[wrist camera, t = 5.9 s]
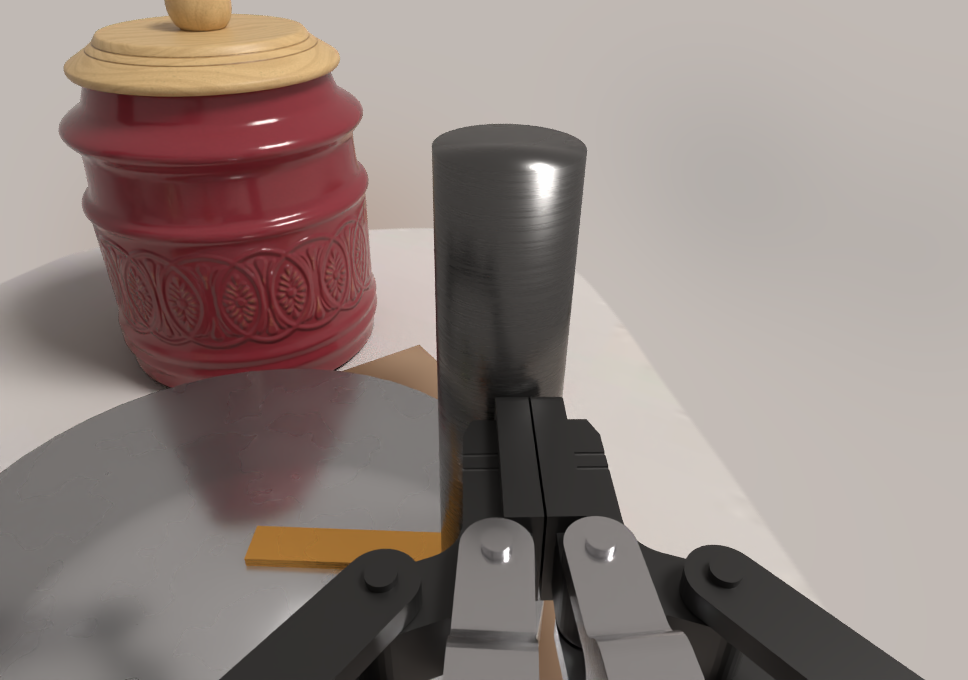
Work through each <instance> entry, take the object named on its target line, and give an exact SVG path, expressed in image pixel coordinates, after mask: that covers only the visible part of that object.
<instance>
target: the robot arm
mask: <svg viewBox="0 0 968 680" xmlns="http://www.w3.org/2000/svg"><path fill="white" fill-rule="evenodd" d="M538 590H539V593H540V601H545V600H553V602H554V610H555V626H554V640H555V645H556V650H557V654H558V659H559V664H560V669H561V673H562V678H563V680H924V679H923V678H921V677H920V676H918V675H917V674H916V673H914V672H913V671H911V670H909V669H908V668H907V667H906V666H904V665H903V664H901V663H900V662H898V661H897V660H895V659H894V658H892V657H891V656H890V655H888V654H887V653H885V652H884V651H883V650H881V649H880V648H878V647H877V646H875V645H874V644H872V643H871V642H870V641H868V640H867V639H865V638H864V637H862V636H861V635H860V634H858V633H857V632H855V631H854V630H852V629H851V628H850V627H848V626H847V625H845V624H843V623H842V622H841V621H839V620H838V619H837V618H835V617H834V616H832V615H831V614H829V613H828V612H827V611H825V610H824V609H822V608H821V607H819V606H818V605H816V604H815V603H814V602H812V601H811V600H809V599H808V598H806V597H805V596H804V595H802V594H801V593H799V592H798V591H796V590H795V589H794V588H792V587H791V586H789V585H788V584H786V583H785V582H783V581H782V580H781V579H779V578H778V577H776V576H775V575H773V574H772V573H771V572H769V571H768V570H766V569H765V568H763V567H762V566H760V565H759V564H758V563H756V562H755V561H753V560H752V559H750V558H749V557H748V556H746V555H744V554H743V553H741V552H739V551H737V550H735V549H732V548H729V547H726V546H721V545H706V546H701V547H699V548H696V549H695V550H693V551H692V552H691V553H690V554H689V555H688V557H687V558H686V559H684V558H681V557H677V556H673V555H669V554H665V553H661V552H658V551H655V550H652V549H650V548H648V547H646V546H644V545H643V544H641V543H640V542H638V541H637V540H636V537H635V536H634V534H633V533H632V532H631V531H630V530H629V529H628V528H627V527H626V526H625V525H624V523H623V520H622V517H621V513H620V509H619V505H618V501H617V498H616V494H615V490H614V486H613V482H612V479H611V475H610V471H609V470H608V463H607V460H606V456H605V455H604V448H603V445H602V441H601V437H600V434H599V433H598V432H597V431H596V430H595V428H594V427H593V426H592V425H591V424H590V423H589V422H588V421H587V419H567V416H566V411H565V406H564V401H563V398H562V397H529V400H528V397H495V414H494V420H477V421H472V422H471V423H470V425H469V426H468V428H467V430H466V431H465V433H464V435H463V526H462V530H461V533H460V535H459V537H458V539H457V540H456V541H455V543H454V544H452V545H451V546H450V547H449V548H448V549H446V550H445V551H443V552H441V553H440V554H437V555H435V556H432V557H429V558H426V559H422V560H419V561H416V562H415V560H414V559H413V558H412V557H410V556H409V555H408V554H406V553H404V552H401V551H398V550H394V549H377V550H373V551H369V552H367V553H364V554H362V555H361V556H359V557H357V558H356V559H355V560H353V561H352V562H351V563H350V564H349V565H348V566H347V567H346V568H344V569H343V570H342V571H341V572H340V573H339V574H338V575H336V576H335V577H334V578H333V579H332V580H331V581H330V582H329V583H327V584H326V585H325V586H324V587H323V588H322V589H321V590H320V591H318V592H317V593H316V594H315V595H314V596H313V597H312V598H311V599H309V600H308V601H307V602H306V603H305V604H304V605H303V606H302V607H300V608H299V609H298V610H297V611H296V612H295V613H294V614H292V615H291V616H290V617H289V618H288V619H287V620H286V621H285V622H283V623H282V624H281V625H280V626H279V627H278V628H277V629H276V630H274V631H273V632H272V633H271V634H270V635H269V636H268V637H267V638H265V639H264V640H263V641H262V642H261V643H260V644H259V645H258V646H256V647H255V648H254V649H253V650H252V651H251V652H250V653H248V654H247V655H246V656H245V657H244V658H243V659H242V660H241V661H239V662H238V663H237V664H236V665H235V666H234V667H233V668H232V669H230V670H229V671H228V672H227V673H226V674H225V675H224V676H223V677H221V678H220V679H219V680H430V679H433V678H436V677H439V676H442V675H443V680H539V649H538V639H536V610H535V601H538Z"/></svg>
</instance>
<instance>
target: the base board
mask: <svg viewBox="0 0 968 680" xmlns="http://www.w3.org/2000/svg"><path fill="white" fill-rule="evenodd" d="M343 372H349V373H356V374H362V375H368V376H372V377H376V378H380V379H384V380H388V381H392V382H396V383H398V384H401V385H404V386H407V387H410V388H413V389H416V390H418V391H421V392H423V393H425V394H427V395H429V396H431V397H433V398H436V399H438V385H437V361H436V360H435V359H434V358H433V357H432V356H431V355H430V354H429V353H428V352H427V351H425V350H424V349H423V348H422V347H421V346H420V345H417V346H414V347H411V348H409V349H406V350H403V351H400V352H397V353H394V354H391V355H388V356H385V357H382V358H379V359H376V360H374V361H371V362H368V363H365V364H362V365H359V366H356V367H353V368H350V369H347V370H344V371H343ZM554 626H555V610H554V602H553V600H545V601H544V605H543V615H542V624H541V634H540V641H539V647H538V649H539V680H563V678H562V673H561V669H560V664H559V659H558V654H557V650H556V645H555V640H554Z"/></svg>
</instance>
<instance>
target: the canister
mask: <svg viewBox="0 0 968 680" xmlns="http://www.w3.org/2000/svg"><path fill="white" fill-rule="evenodd" d="M165 5H166V9H167V12H168V14H169V16H164V17H153V18H145V19H138V20H132V21H126V22H121V23H117V24H113V25H109V26H107V27H103V28H101V29H99V30H98V31H96V32H95V34H94V36H93V38H92V40H91V42H90V43H89V44H88V45H87V46H86V47H85V48H83V49H82V50H80V51H79V52H78V53H77V54H75V55H74V56H72V57H71V58H70V59H69V60H68V61H67V62H66V63H65V65H64V72H65V75H66V76H67V77H68V79H70V80H71V81H72V82H73V83H75V84H77V85H79V86H82V91H81V99H80V102H79V103H78V104H77V105H76V106H74V107H73V108H72V109H71V110H70V111H69V112H68V113H67V114H66V115H65V116H64V117H63V118H62V120H61V122H60V124H59V135H60V137H61V139H62V140H63V141H64V142H65V143H66V144H67V145H68V146H69V147H70V148H72V149H73V150H74V151H76V152H78V153H79V154H81V155H82V158H83V163H84V167H85V171H86V175H87V181H88V187H87V189H86V190H85V192H84V194H83V198H82V208H83V211H84V213H85V215H86V217H87V218H88V219H89V220H90V221H91V222H92V224H93V226H94V230H95V233H96V236H97V239H98V243H99V246H100V249H101V252H102V255H103V259H104V262H105V265H106V268H107V272H108V275H109V278H110V281H111V284H112V288H113V291H114V294H115V297H116V300H117V304H118V307H119V312H118V318H119V324H120V327H121V329H122V331H123V336H124V339H125V342H126V344H127V346H128V347H129V349H130V350H131V352H132V353H133V354H134V355H135V356H136V358H137V361H138V363H139V365H140V366H141V368H142V369H143V370H144V371H145V373H146V374H148V375H149V376H150V377H151V378H153V379H154V380H156V381H157V382H159V383H161V384H163V385H165V386H168V387H170V388H172V387H175V386H178V385H182V384H185V383H189V382H194V381H198V380H203V379H208V378H212V377H217V376H222V375H229V374H236V373H242V372H249V371H261V370H274V369H320V370H335V369H336V368H338V367H340V366H341V365H343V364H344V363H346V362H347V361H348V360H350V359H351V358H352V357H353V356H354V355H355V354H357V353H358V352H359V351H360V349H361V348H362V347H363V346H364V345H365V343H366V342H367V340H368V339H369V337H370V335H371V332H372V329H373V324H374V314H375V311H376V306H377V296H376V281H375V278H374V275H373V273H372V271H371V259H370V246H369V233H368V221H367V208H366V196H365V192H366V189H367V187H368V175H367V172H366V170H365V168H364V167H363V165H362V164H361V163H360V162H359V161H357V159H356V154H355V148H354V141H353V131H354V129H355V128H356V127H357V125H358V124H359V122H360V121H361V119H362V116H363V109H362V106H361V104H360V102H359V101H358V100H357V99H356V98H355V97H354V96H353V95H352V94H350V93H349V92H347V91H346V90H344V89H342V88H341V87H339V86H337V85H336V83H335V81H334V79H333V77H332V74H331V71H333V70H334V69H335V68H336V67H337V66H338V64H339V61H340V56H339V53H338V51H337V50H336V49H335V48H333V47H332V46H330V45H329V44H327V43H325V42H323V41H322V40H320V39H318V38H316V37H314V36H313V35H312V34H310V33H309V32H308V31H307V30H306V28H305V27H304V26H303V25H302V24H300V23H298V22H296V21H293V20H289V19H285V18H279V17H271V16H263V15H248V14H231V10H232V7H231V0H165Z"/></svg>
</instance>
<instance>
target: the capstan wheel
mask: <svg viewBox="0 0 968 680" xmlns="http://www.w3.org/2000/svg"><path fill="white" fill-rule="evenodd" d="M586 155H587V148H586V146H585V144H584V143H583V142H582V141H580V140H579V139H577V138H576V137H574V136H572V135H569V134H567V133H564V132H561V131H557V130H553V129H548V128H543V127H538V126H530V125H518V124H487V125H476V126H469V127H464V128H459V129H456V130H452V131H449V132H446V133H444V134H442V135H440V136H439V137H437V138H436V139H435V140H434V141H433V143H432V165H433V166H432V167H433V209H434V210H433V211H434V255H435V299H436V342H437V385H438V399H436V398H433V397H431V396H429V395H427V394H425V393H423V392H421V391H418V390H416V389H413V388H410V387H407V386H404V385H401V384H398V383H396V382H392V381H388V380H384V379H380V378H376V377H372V376H368V375H362V374H356V373H349V372H343V371H334V370H320V369H274V370H261V371H249V372H242V373H236V374H229V375H222V376H217V377H212V378H208V379H203V380H198V381H194V382H189V383H185V384H182V385H178V386H175V387H172V388H168V389H165V390H161V391H158V392H154V393H152V394H149V395H146V396H143V397H141V398H138V399H135V400H132V401H130V402H127V403H124V404H121V405H119V406H117V407H115V408H112V409H110V410H108V411H106V412H103V413H101V414H99V415H97V416H94V417H92V418H90V419H88V420H86V421H84V422H82V423H80V424H78V425H76V426H74V427H73V428H71V429H69V430H67V431H65V432H63V433H61V434H59V435H57V436H55V437H54V438H52V439H51V440H49V441H47V442H46V443H44V444H43V445H41V446H39V447H38V448H36V449H34V450H33V451H31V452H30V453H28V454H26V455H25V456H23V457H22V458H20V459H19V460H18V461H16V462H15V463H13V464H12V465H11V466H9V467H8V468H7V469H5V470H4V471H2V472H1V473H0V680H219V679H220V678H221V677H223V676H224V675H225V674H226V673H227V672H228V671H229V670H230V669H232V668H233V667H234V666H235V665H236V664H237V663H238V662H239V661H241V660H242V659H243V658H244V657H245V656H246V655H247V654H248V653H250V652H251V651H252V650H253V649H254V648H255V647H256V646H258V645H259V644H260V643H261V642H262V641H263V640H264V639H265V638H267V637H268V636H269V635H270V634H271V633H272V632H273V631H274V630H276V629H277V628H278V627H279V626H280V625H281V624H282V623H283V622H285V621H286V620H287V619H288V618H289V617H290V616H291V615H292V614H294V613H295V612H296V611H297V610H298V609H299V608H300V607H302V606H303V605H304V604H305V603H306V602H307V601H308V600H309V599H311V598H312V597H313V596H314V595H315V594H316V593H317V592H318V591H320V590H321V589H322V588H323V587H324V586H325V585H326V584H327V583H329V582H330V581H331V580H332V579H333V578H334V577H335V576H336V575H338V574H339V573H340V572H341V571H342V570H343V569H344V568H346V567H347V566H348V565H349V564H350V563H351V562H352V561H353V560H355V559H356V558H357V557H359V556H361V555H362V554H364V553H367V552H369V551H373V550H377V549H394V550H398V551H401V552H404V553H406V554H408V555H409V556H410V557H412V558H413V559H414V560H415V562H416V561H419V560H422V559H426V558H429V557H432V556H435V555H437V554H440V553H441V552H443V551H445V550H446V549H448V548H449V547H450V546H451V545H452V544H454V543H455V541H456V540H457V539H458V537H459V535H460V533H461V530H462V526H463V435H464V433H465V431H466V430H467V428H468V426H469V425H470V423H471V422H472V421H477V420H494V414H495V397H528V400H529V397H562V395H563V385H564V375H565V365H566V355H567V345H568V335H569V325H570V315H571V305H572V295H573V285H574V275H575V264H576V255H577V244H578V235H579V225H580V215H581V205H582V195H583V185H584V175H585V164H586ZM543 605H544V601H540V593H539V590H538V601H535V610H536V639H538V647H539V641H540V634H541V624H542V615H543ZM430 680H443V675H442V676H439V677H436V678H433V679H430Z"/></svg>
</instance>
